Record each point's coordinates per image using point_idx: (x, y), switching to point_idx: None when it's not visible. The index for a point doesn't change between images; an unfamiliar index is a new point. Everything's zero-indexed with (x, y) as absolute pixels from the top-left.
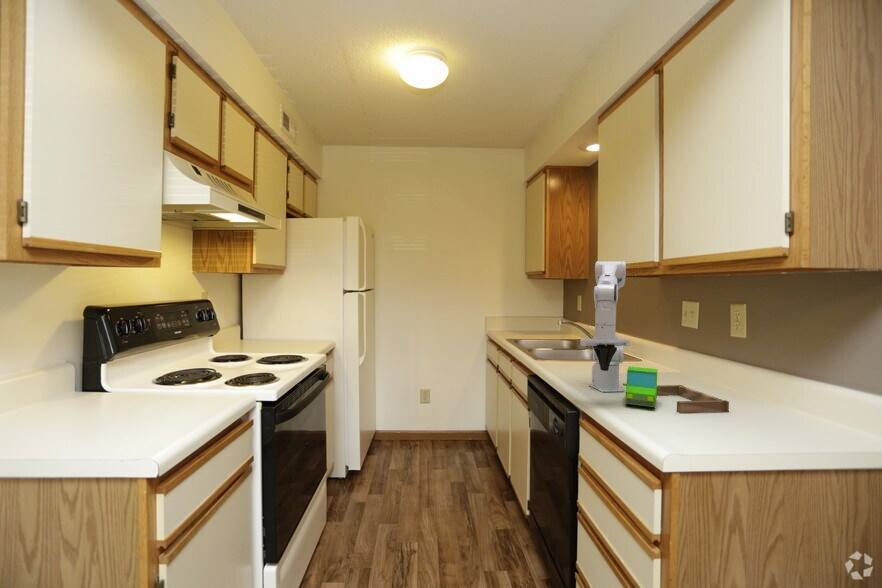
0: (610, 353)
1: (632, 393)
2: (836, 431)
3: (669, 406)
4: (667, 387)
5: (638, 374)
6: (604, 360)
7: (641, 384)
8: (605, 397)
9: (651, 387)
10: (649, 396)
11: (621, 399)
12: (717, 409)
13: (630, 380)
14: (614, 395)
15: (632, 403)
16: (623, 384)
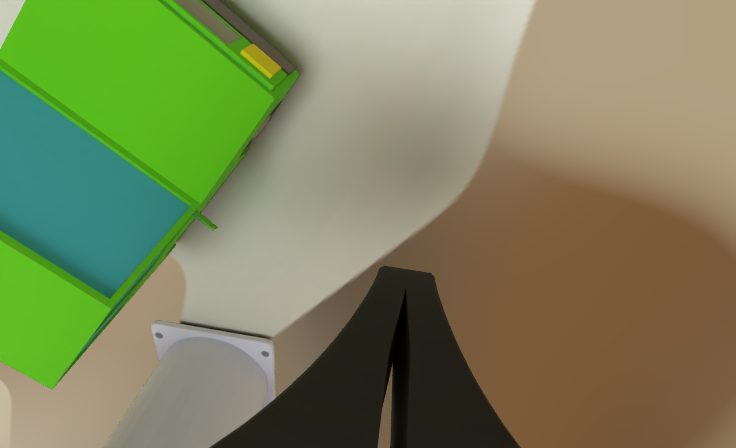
0: (344, 432)
1: (232, 59)
2: None
3: (3, 19)
4: None
5: (45, 226)
6: (445, 358)
7: (85, 151)
8: (308, 268)
9: (25, 90)
10: None
11: (237, 217)
12: None
13: (146, 221)
14: (237, 285)
15: (261, 38)
16: (213, 225)
